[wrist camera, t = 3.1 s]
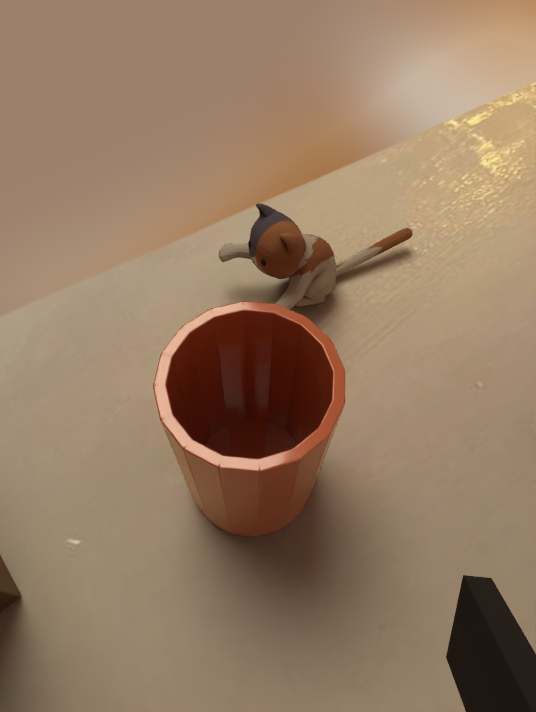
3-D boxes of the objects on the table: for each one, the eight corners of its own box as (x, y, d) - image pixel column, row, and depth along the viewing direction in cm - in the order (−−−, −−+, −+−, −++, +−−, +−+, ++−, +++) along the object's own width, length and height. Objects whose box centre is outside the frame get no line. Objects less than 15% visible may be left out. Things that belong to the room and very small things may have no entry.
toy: (217, 280, 37) (208, 190, 30) (378, 214, 41) (404, 122, 34) (267, 357, 33) (271, 277, 26) (437, 277, 37) (480, 189, 30)
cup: (165, 464, 29) (118, 365, 19) (260, 394, 32) (263, 274, 22) (241, 565, 27) (233, 514, 16) (338, 480, 29) (384, 390, 19)
